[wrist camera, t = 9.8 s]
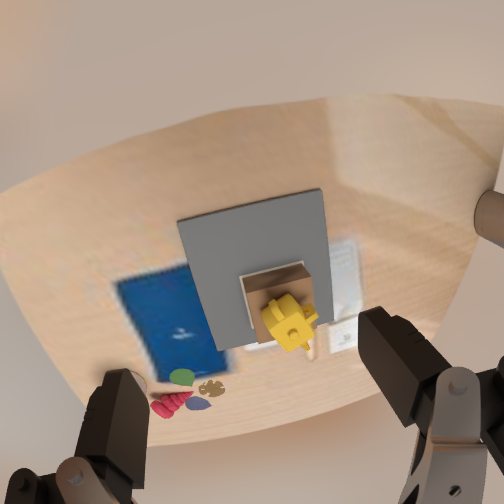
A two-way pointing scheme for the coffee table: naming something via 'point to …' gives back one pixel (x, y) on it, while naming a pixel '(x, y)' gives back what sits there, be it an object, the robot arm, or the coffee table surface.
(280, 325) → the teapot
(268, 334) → the base block
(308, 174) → the coffee table surface
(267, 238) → the gray board
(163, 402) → the toy pieces
